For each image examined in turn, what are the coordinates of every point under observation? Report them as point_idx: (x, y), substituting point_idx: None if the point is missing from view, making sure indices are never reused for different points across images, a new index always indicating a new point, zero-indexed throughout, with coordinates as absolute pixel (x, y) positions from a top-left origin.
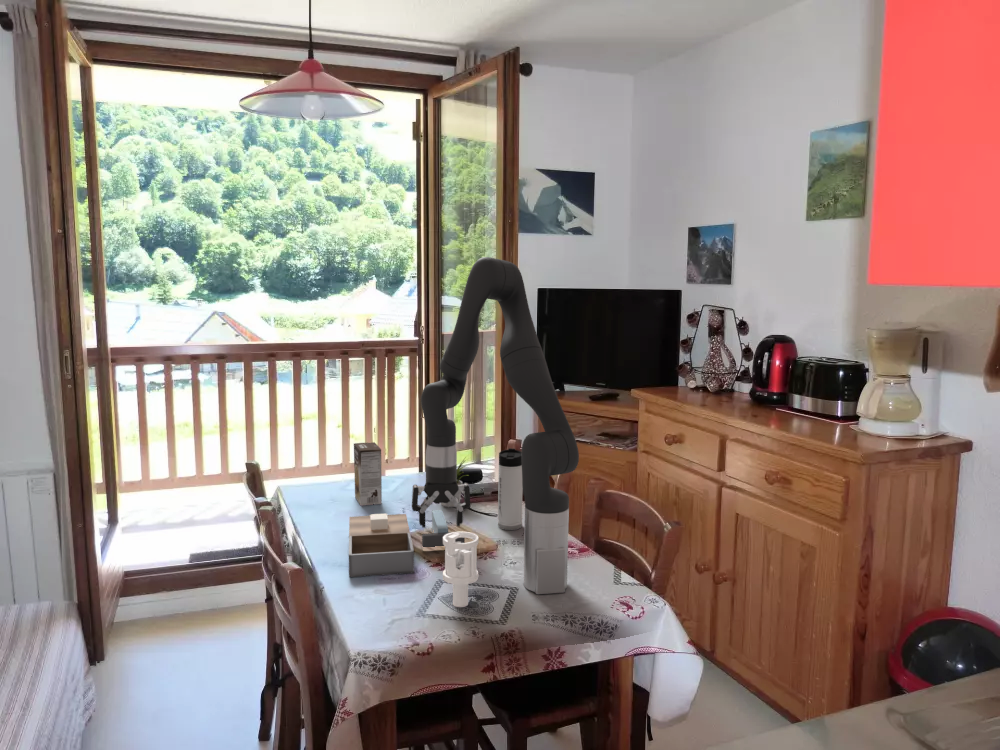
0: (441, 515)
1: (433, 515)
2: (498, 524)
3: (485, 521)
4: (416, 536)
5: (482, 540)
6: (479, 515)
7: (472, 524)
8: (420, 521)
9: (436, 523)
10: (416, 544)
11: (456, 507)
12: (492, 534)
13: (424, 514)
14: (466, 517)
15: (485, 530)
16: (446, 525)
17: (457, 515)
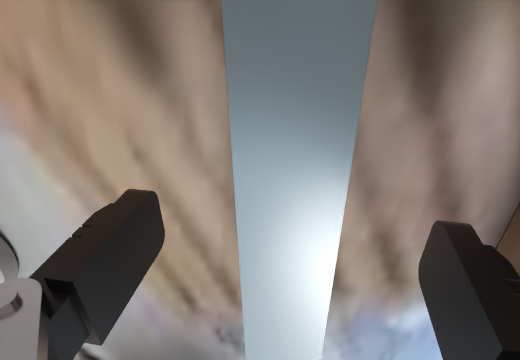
0: (260, 342)
1: (320, 358)
2: (2, 257)
3: None
4: None
5: (45, 102)
6: (114, 356)
7: (130, 300)
8: (510, 275)
9: (340, 203)
10: (492, 119)
11: (34, 340)
12: (15, 177)
13: (511, 337)
14: (159, 356)
15: (62, 230)
16: (237, 118)
17: (95, 251)
